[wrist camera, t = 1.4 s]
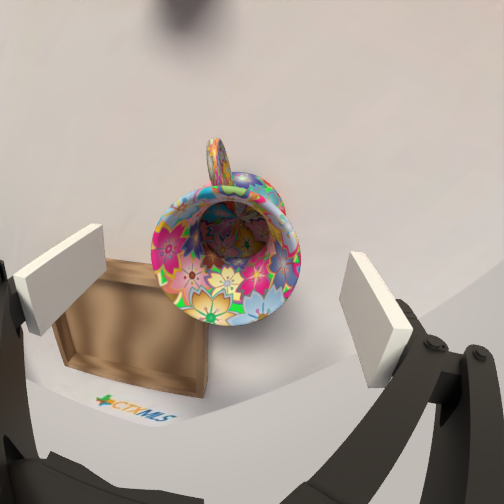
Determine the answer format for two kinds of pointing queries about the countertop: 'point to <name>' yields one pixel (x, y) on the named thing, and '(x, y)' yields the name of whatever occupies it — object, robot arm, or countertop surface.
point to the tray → (134, 333)
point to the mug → (226, 247)
